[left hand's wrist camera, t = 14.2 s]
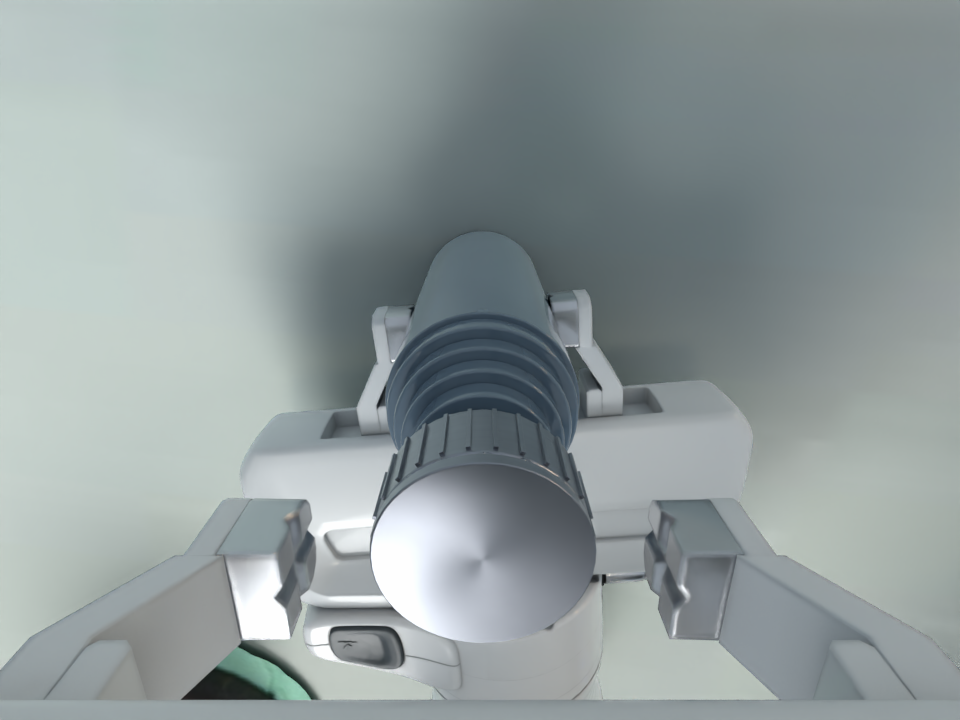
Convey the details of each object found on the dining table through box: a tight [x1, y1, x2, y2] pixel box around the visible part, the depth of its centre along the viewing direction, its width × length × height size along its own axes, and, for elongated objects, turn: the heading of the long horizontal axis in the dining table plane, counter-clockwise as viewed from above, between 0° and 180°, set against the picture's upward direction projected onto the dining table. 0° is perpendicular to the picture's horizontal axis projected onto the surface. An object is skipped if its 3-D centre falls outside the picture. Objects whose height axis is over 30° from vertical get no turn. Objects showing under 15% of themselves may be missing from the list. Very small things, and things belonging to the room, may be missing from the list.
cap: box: [369, 408, 597, 643], centre depth 11 cm, size 4×4×2 cm
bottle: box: [385, 231, 580, 451], centre depth 18 cm, size 5×5×18 cm
